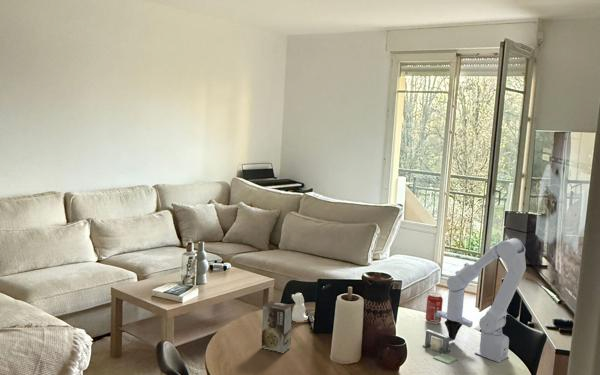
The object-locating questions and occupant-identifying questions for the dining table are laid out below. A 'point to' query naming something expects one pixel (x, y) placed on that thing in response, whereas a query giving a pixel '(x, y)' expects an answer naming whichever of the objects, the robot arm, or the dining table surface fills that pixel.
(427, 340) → the bracket
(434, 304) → the beverage can
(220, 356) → the dining table surface
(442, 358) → the pad
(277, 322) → the coffee box
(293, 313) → the seated beast figurine
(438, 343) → the plug
